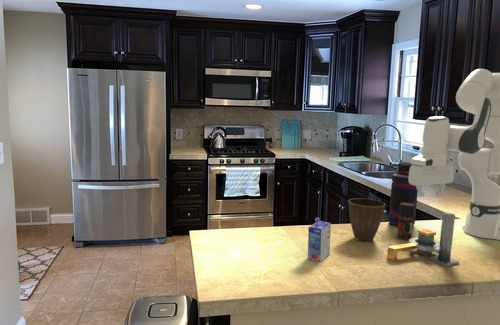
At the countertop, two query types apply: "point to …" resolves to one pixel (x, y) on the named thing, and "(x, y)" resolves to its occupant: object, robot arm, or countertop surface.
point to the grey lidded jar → (425, 239)
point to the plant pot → (365, 217)
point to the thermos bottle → (401, 192)
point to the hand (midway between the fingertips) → (429, 195)
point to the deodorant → (405, 221)
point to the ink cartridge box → (319, 240)
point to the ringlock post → (438, 247)
